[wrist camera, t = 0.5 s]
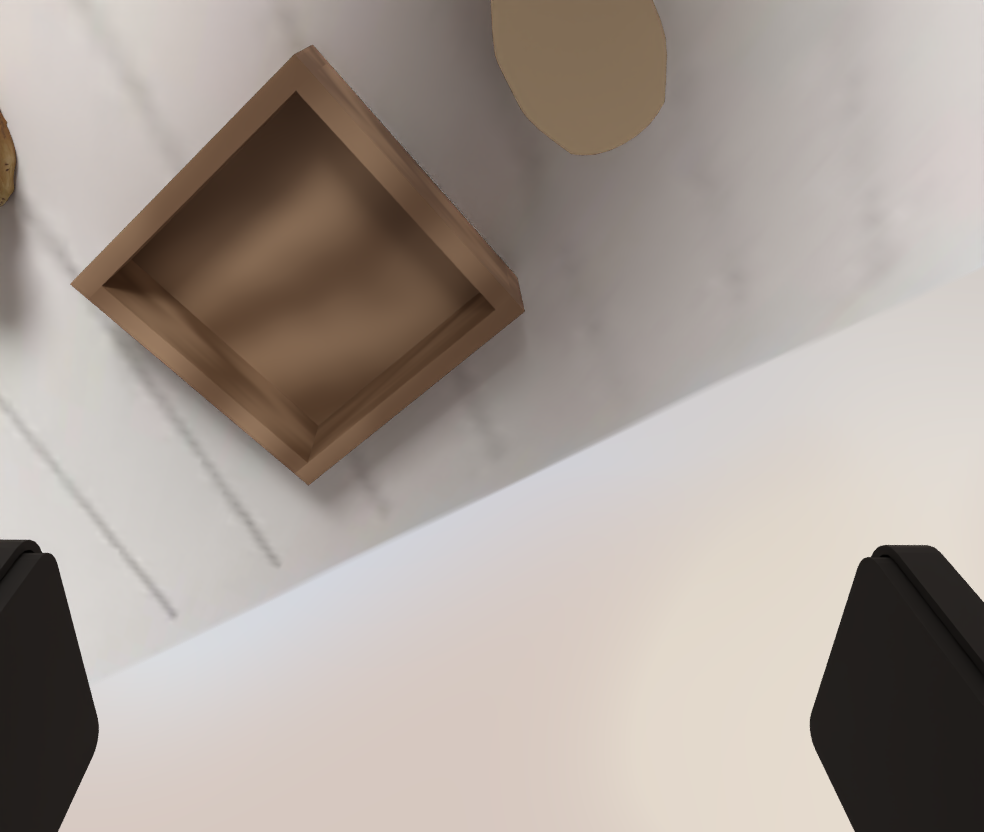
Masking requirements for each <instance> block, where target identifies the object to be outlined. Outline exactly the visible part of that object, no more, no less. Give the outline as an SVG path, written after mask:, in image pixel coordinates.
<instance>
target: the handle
mask: <svg viewBox="0 0 984 832" xmlns="http://www.w3.org/2000/svg"><path fill="white" fill-rule="evenodd" d="M491 19H492V34H493V43H494V51H495V57H496V60H497V63H498V65H499V67H500V69H501V71H502V73H503V75H504V77H505V79H506V81H507V83H508V85H509V87H510V89H511V91H512V93H513V95H514V97H515V99H516V101H517V103H518V105H519V107H520V109H521V110H522V112H523V113H524V114H525V116H526V117H527V118H528V119H529V120H530V121H531V122H532V123H533V124H534V125H535V126H536V127H537V128H538V129H539V130H540V131H541V132H543V133H544V134H545V135H547V136H548V137H549V138H550V139H552V140H553V141H554V142H556V143H557V144H558V145H560V146H561V147H562V148H564V149H565V150H566V151H568V152H569V153H570V154H575V155H595V154H599V153H603V152H606V151H610V150H612V149H614V148H616V147H618V146H620V145H623V144H625V143H626V142H628V141H629V140H631V139H632V138H634V137H635V136H637V135H638V134H639V133H640V132H642V131H643V130H644V129H645V128H646V127H647V126H648V125H649V124H650V123H651V122H652V120H653V119H654V118H655V116H656V115H657V114H658V112H659V111H660V109H661V107H662V105H663V104H664V102H665V85H666V62H667V52H666V38H665V34H664V31H663V27H662V24H661V20H660V18H659V15H658V13H657V10H656V8H655V5H654V3H653V0H491Z"/></svg>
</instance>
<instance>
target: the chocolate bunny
mask: <svg viewBox="0 0 984 832" xmlns="http://www.w3.org/2000/svg"><path fill="white" fill-rule="evenodd" d="M6 124H7V122H6V120H5V119H4V117H3V115H2V113H1V111H0V206H2V205H3V204H5V202H6V201H7V200H8V198H9V196H10V195H11V194H12V193H13V191H14V183H13V177H14V170H15V165H16V153H15V148H14V144H13V141H12V139H11V135H10V132H9V130H8V128H7V126H6Z"/></svg>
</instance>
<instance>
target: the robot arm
mask: <svg viewBox="0 0 984 832" xmlns="http://www.w3.org/2000/svg"><path fill="white" fill-rule="evenodd" d="M810 732H811V737H812V742H813V745H814V747H815V750H816V752H817V754H818V756H819V758H820V760H821V762H822V764H823V766H824V768H825V770H826V773H827V775H828V777H829V779H830V781H831V783H832V785H833V787H834V789H835V791H836V793H837V796H838V798H839V800H840V802H841V804H842V806H843V808H844V810H845V812H846V814H847V816H848V818H849V821H850V823H851V825H852V827H853V829H854V831H855V832H984V602H983V601H982V600H981V599H980V597H979V596H978V595H977V594H976V593H975V592H974V591H973V589H972V588H971V587H970V586H969V585H968V584H967V582H966V581H965V580H964V579H963V578H962V577H961V576H960V574H959V573H958V572H957V571H956V570H955V569H954V567H953V566H952V565H951V564H950V563H949V562H948V561H947V559H946V558H945V557H944V556H943V555H942V554H941V553H940V552H939V551H938V550H937V549H936V548H934V547H931V546H928V545H883V546H880V547H878V548H877V549H876V550H875V551H874V552H873V554H872V556H871V557H867V558H864V559H863V560H862V561H861V562H860V564H859V566H858V568H857V572H856V575H855V578H854V581H853V584H852V587H851V590H850V593H849V597H848V600H847V603H846V606H845V609H844V612H843V615H842V619H841V622H840V625H839V628H838V631H837V634H836V638H835V640H834V644H833V647H832V650H831V653H830V656H829V659H828V663H827V666H826V669H825V672H824V675H823V678H822V681H821V684H820V688H819V691H818V694H817V697H816V700H815V703H814V707H813V709H812V713H811V717H810ZM98 733H99V724H98V718H97V714H96V710H95V706H94V702H93V698H92V695H91V691H90V687H89V683H88V679H87V675H86V672H85V668H84V664H83V660H82V656H81V653H80V649H79V645H78V641H77V637H76V633H75V630H74V626H73V622H72V618H71V614H70V610H69V607H68V603H67V599H66V595H65V591H64V587H63V584H62V580H61V576H60V572H59V568H58V564H57V562H56V559H55V557H54V556H53V555H52V554H49V553H42V551H41V549H40V547H39V546H38V544H37V543H36V542H35V541H31V540H0V832H58V830H59V828H60V826H61V824H62V822H63V819H64V817H65V815H66V813H67V811H68V809H69V806H70V804H71V802H72V800H73V798H74V796H75V794H76V791H77V789H78V787H79V785H80V783H81V780H82V778H83V776H84V774H85V772H86V770H87V768H88V765H89V763H90V761H91V759H92V757H93V754H94V752H95V749H96V745H97V741H98Z"/></svg>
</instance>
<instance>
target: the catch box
mask: <svg viewBox="0 0 984 832" xmlns="http://www.w3.org/2000/svg"><path fill="white" fill-rule="evenodd" d="M71 285H72V286H73V287H74V288H75V289H76V290H78V291H79V292H80V293H81V294H82V295H84V296H85V297H86V298H87V299H88V300H89V301H91V302H92V303H93V304H94V305H95V306H97V307H98V308H99V309H100V310H101V311H103V312H104V313H105V314H106V315H107V316H108V317H110V318H111V319H112V320H113V321H114V322H116V323H117V324H118V325H119V326H120V327H121V328H123V329H124V330H125V331H126V332H127V333H129V334H130V335H131V336H132V337H133V338H134V339H136V340H137V341H138V342H139V343H140V344H142V345H143V346H144V347H145V348H146V349H148V350H149V351H150V352H151V353H152V354H153V355H155V356H156V357H157V358H158V359H159V360H161V361H162V362H163V363H164V364H165V365H166V366H168V367H169V368H170V369H171V370H172V371H174V372H175V373H176V374H177V375H178V376H179V377H181V378H182V379H183V380H184V381H185V382H187V383H188V384H189V385H190V386H191V387H193V388H194V389H195V390H196V391H197V392H198V393H200V394H201V395H202V396H203V397H204V398H206V399H207V400H208V401H209V402H210V403H211V404H213V405H214V406H215V407H216V408H217V409H219V410H220V411H221V412H222V413H223V414H224V415H226V416H227V417H228V418H229V419H230V420H232V421H233V422H234V423H235V424H236V425H238V426H239V427H240V428H241V429H242V430H243V431H245V432H246V433H247V434H248V435H249V436H251V437H252V438H253V439H254V440H255V441H256V442H258V443H259V444H260V445H261V446H262V447H264V448H265V449H266V450H267V451H268V452H270V453H271V454H272V455H273V456H274V457H275V458H277V459H278V460H279V461H280V462H281V463H283V464H284V465H285V466H286V467H287V468H288V469H290V470H291V471H292V472H293V473H294V474H296V475H297V476H298V477H299V478H300V479H301V480H303V481H304V482H305V483H306V484H307V485H310V484H311V483H312V482H313V481H314V480H316V479H317V478H318V477H319V476H321V475H322V474H323V473H324V472H326V471H327V470H328V469H329V468H331V467H332V466H333V465H334V464H336V463H337V462H338V461H339V460H341V459H342V458H343V457H344V456H346V455H347V454H348V453H349V452H351V451H352V450H353V449H354V448H356V447H357V446H358V445H359V444H360V443H362V442H363V441H364V440H365V439H367V438H368V437H369V436H370V435H372V434H373V433H374V432H375V431H377V430H378V429H379V428H380V427H382V426H383V425H384V424H385V423H387V422H388V421H389V420H390V419H392V418H393V417H394V416H395V415H397V414H398V413H399V412H400V411H402V410H403V409H404V408H405V407H406V406H408V405H409V404H410V403H411V402H413V401H414V400H415V399H416V398H418V397H419V396H420V395H421V394H423V393H424V392H425V391H426V390H428V389H429V388H430V387H431V386H433V385H434V384H435V383H436V382H438V381H439V380H440V379H441V378H443V377H444V376H445V375H446V374H448V373H449V372H450V371H451V370H453V369H454V368H455V367H456V366H457V365H459V364H460V363H461V362H462V361H464V360H465V359H466V358H467V357H469V356H470V355H471V354H472V353H474V352H475V351H476V350H477V349H479V348H480V347H481V346H482V345H484V344H485V343H486V342H487V341H489V340H490V339H491V338H492V337H494V336H495V335H496V334H497V333H499V332H500V331H501V330H502V329H503V328H505V327H506V326H507V325H508V324H510V323H511V322H512V321H513V320H515V319H516V318H517V317H518V316H520V315H521V314H522V313H523V312H525V310H524V305H523V301H522V296H521V292H520V288H519V283H518V279H517V277H516V275H515V274H514V273H513V272H512V271H511V270H510V269H509V267H508V266H507V265H506V264H505V263H504V262H503V261H502V260H501V258H500V257H499V256H498V255H497V254H496V253H495V252H494V250H493V249H492V248H491V247H490V246H489V245H488V244H487V242H486V241H485V240H484V239H483V238H482V237H481V236H480V235H479V233H478V232H477V231H476V230H475V229H474V228H473V227H472V225H471V224H470V223H469V222H468V221H467V220H466V219H465V217H464V216H463V215H462V214H461V213H460V212H459V211H458V209H457V208H456V207H455V206H454V205H453V204H452V203H451V202H450V200H449V199H448V198H447V197H446V196H445V195H444V194H443V192H442V191H441V190H440V189H439V188H438V187H437V186H436V184H435V183H434V182H433V181H432V180H431V179H430V178H429V176H428V175H427V174H426V173H425V172H424V171H423V170H422V169H421V167H420V166H419V165H418V164H417V163H416V162H415V161H414V159H413V158H412V157H411V156H410V155H409V154H408V153H407V151H406V150H405V149H404V148H403V147H402V146H401V145H400V144H399V142H398V141H397V140H396V139H395V138H394V137H393V136H392V134H391V133H390V132H389V131H388V130H387V129H386V128H385V126H384V125H383V124H382V123H381V122H380V121H379V120H378V118H377V117H376V116H375V115H374V114H373V113H372V112H371V111H370V109H369V108H368V107H367V106H366V105H365V104H364V103H363V101H362V100H361V99H360V98H359V97H358V96H357V95H356V93H355V92H354V91H353V90H352V89H351V88H350V87H349V85H348V84H347V83H346V82H345V81H344V80H343V79H342V78H341V76H340V75H339V74H338V73H337V72H336V71H335V70H334V68H333V67H332V66H331V65H330V64H329V63H328V62H327V60H326V59H325V58H324V57H323V56H322V55H321V54H320V53H319V51H318V50H317V49H316V48H315V47H314V46H313V45H311V46H309V47H307V48H305V49H303V50H302V51H300V52H298V53H296V54H294V55H293V56H292V57H291V58H290V59H289V60H288V61H287V62H286V63H285V64H284V65H283V66H282V68H281V69H280V70H279V71H278V72H277V73H276V74H275V75H274V76H273V77H272V78H271V79H270V80H269V81H268V82H267V83H266V84H265V85H264V86H263V87H262V88H261V89H260V90H259V91H258V92H257V93H256V94H255V95H254V96H253V97H252V98H251V99H250V100H249V101H248V102H247V103H246V104H245V105H244V106H243V107H242V108H241V110H240V111H239V112H238V113H237V114H236V115H235V116H234V117H233V118H232V119H231V120H230V121H229V122H228V123H227V124H226V125H225V126H224V127H223V128H222V129H221V130H220V131H219V132H218V133H217V134H216V135H215V136H214V137H213V138H212V139H211V140H210V141H209V142H208V143H207V144H206V145H205V146H204V147H203V148H202V149H201V150H200V152H199V153H198V154H197V155H196V156H195V157H194V158H193V159H192V160H191V161H190V162H189V163H188V164H187V165H186V166H185V167H184V168H183V169H182V170H181V171H180V172H179V173H178V174H177V175H176V176H175V177H174V178H173V179H172V180H171V181H170V182H169V183H168V184H167V185H166V186H165V187H164V188H163V189H162V190H161V191H160V192H159V194H158V195H157V196H156V197H155V198H154V199H153V200H152V201H151V202H150V203H149V204H148V205H147V206H146V207H145V208H144V209H143V210H142V211H141V212H140V213H139V214H138V215H137V216H136V217H135V218H134V219H133V220H132V221H131V222H130V223H129V224H128V225H127V226H126V227H125V228H124V229H123V230H122V231H121V232H120V233H119V235H118V236H117V237H116V238H115V239H114V240H113V241H112V242H111V243H110V244H109V245H108V246H107V247H106V248H105V249H104V250H103V251H102V252H101V253H100V254H99V255H98V256H97V257H96V258H95V259H94V260H93V261H92V262H91V263H90V264H89V265H88V266H87V267H86V268H85V269H84V270H83V271H82V272H81V273H80V274H79V275H78V277H77V278H76V279H75V280H74V281H73V282H72V283H71Z"/></svg>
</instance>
